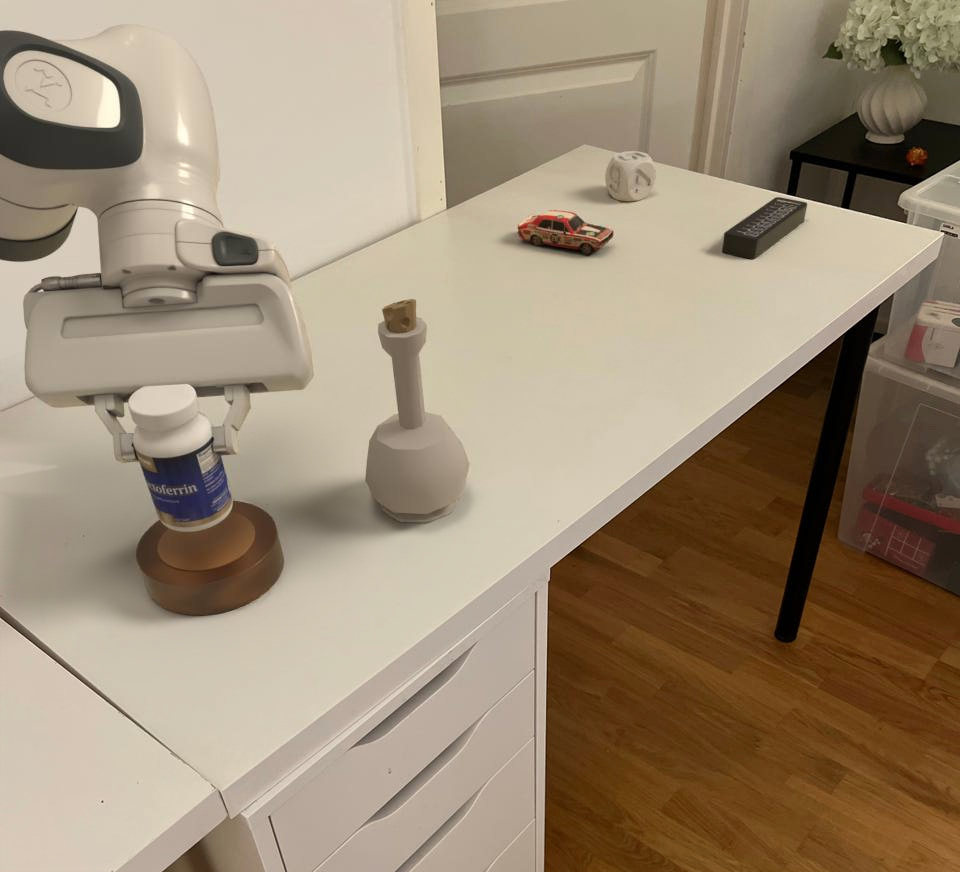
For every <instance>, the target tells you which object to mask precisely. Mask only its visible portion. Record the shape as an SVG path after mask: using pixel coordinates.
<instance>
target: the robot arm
mask: <svg viewBox="0 0 960 872" xmlns="http://www.w3.org/2000/svg"><path fill="white" fill-rule="evenodd" d="M220 181H221V163H220V150H219V141H218V135H217V127H216V119H215V113H214V108H213V103H212V98H211V93H210V90H209V87H208V84H207V81H206V78H205V76H204V73H203V72H202V69H201V67H200V65H199V63H198V62H197V60H196V59H195V58H194V56H193V55H192V53H191V52H190V51H189V50H188V49H187V48H186V47H185V46H184V45H183V44H182V43H181V42H179V41H178V40H176V39H175V38H173V37H172V36H170V35H168V34H166V33H164V32H162V31H161V30H157V29H154V28H151V27H148V26H145V25H139V24H132V23H131V24H130V23H129V24H128V23H127V24H117V25H112V26H110V27H108V28H106V29H104V30H103V31H101V32H99V33H98V34H96V35H92V36H90V37H89V36H88V37H84V38H78V39H49V38H46V37H43V36H40V35H36V34H34V33H31V32H26V31H21V30H11V29H9V30H8V29H7V30H6V29H5V30H0V261H6V262H14V263H16V262H17V263H25V262H32V261H33V262H34V261H37V260H41V259H44V258H46V257H48V256H50V255H52V254H54V253H55V252H56V251H58V250H59V249H60V248H61V247H62V246H63V245H64V244H65V242H67V239H68V238H69V236H70V234H71V231H72V228H73V225H74V222H75V219H76V216H77V213H78V209H79V208H84V209H87V210H89V211H90V212H92V213H93V214H94V216H95V217H96V220H97V235H98V236H97V237H98V250H99V265H100V272H94V273H82V274H77V275H76V274H75V275H71V276H60V275H59V276H58V275H54V276H46V277H44V278H42V279H41V281H40V283H38V284H35V285H34V286H33V287H31V288H30V289H29V290H28V291H27V293H26V294H24V297H23V300H22V301H23V302H22V308H23V321H24V326H25V329H26V337H25V346H24V347H25V348H24V349H25V350H24V382H25V385H26V388H27V389H28V390H29V391H30V393H31V394H33V396H35V397H36V398H37V399H38V400H40V401H41V402H43V403H44V404H46V405H47V406H49V407H52V408H55V409H62V408H74V407H77V408H78V407H87V406H88V407H89V406H94V412H95V413H96V415H97V416H98V418H99V419H100V421H101V422H102V424H103V425H104V426H105V428H106V429H107V431H108V432H109V434H110V435H111V436H112V442H113V444H112V445H113V455H114V458H115V460H116V461H118V462H119V463H120V464H126V463H140V462H139V459H138V457H137V454H136V451H135V448H134V444H133V433H134V432H126V430H125V428H124V426H122V423H121V422H120V421H119V419H118V418H124V417H125V404H128V401H129V398H130V397H131V395H132V394H133V393H134V392H136V391H137V390H139V389H140V388H142V387H145V386H161V385H177V384H189V385H191V386H192V387H193V388H194V390H195V392H196V395H197V398H209V397H211V398H212V397H224V401H225V402H226V403H227V404H228V405H229V406H230V407H229V410H228V412H227V414H226V416H225V418H224V421H223V423H222V425H220V426H213V427H211V431H212V437H213V438H214V440H213V442H212V446H213V451H214V453H216V454H217V455H221V456H234V455H239V452H240V451H239V437H238V436H239V435H238V432H239V431H240V430H241V428H242V426H243V424H244V422H245V420H246V418H247V416H248V414H249V412H250V410H251V409H252V408H251V407H252V405H251V404H252V403H251V395H252V394H266V393H277V392H290V391H303V390H305V389H306V388H307V387H308V386H309V384H310V383H311V381H312V379H314V375H315V374H314V373H315V371H314V361H313V360H314V359H313V355H312V348H311V343H310V337H309V334H308V329H307V326H306V322H305V318H304V316H303V314H302V311H301V308H300V306H299V303H298V302H297V300H296V298H295V297H294V295H293V293H292V290H291V289H292V287H291V286H292V285H291V277H290V272H289V269H288V266H287V264H286V261H285V258H284V257H283V256H282V254H281V252H280V251H279V249H278V248H277V247H276V245H275V244H274V243H273V242H272V241H271V240H270V239H269V238H266V237H263V236H259V235H256V234H251V233H246V232H242V231H237V230H234V229H229V228H226V227H225V225H224V220H223V217H222V214H221V212H220V209H219V205H218V199H217V197H218V188H219V184H220ZM41 290H42V291H41Z"/></svg>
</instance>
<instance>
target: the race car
mask: <svg viewBox="0 0 960 872" xmlns="http://www.w3.org/2000/svg"><path fill="white" fill-rule="evenodd" d="M517 235H518V237H519V238H521V240H523V241H527V242H531V243H532V244H533V245H535V246H536V247H542V246H543V245H548V246H554V247H559V248H565V249H570V250H576V251H577V250H581V252H582V254H583V255H585V256H587V257H588V256H591V255H592V254H593V253H594V252H595V251H597V250H599V249H601V248H602V247H604V246H605V245H606V244H608V243H609V242H610V240H612V239H613V237H614V229H613V228H609V227H607V226H604V225H600V224H595V223H591V222H590V223H589V222H587V221H584V219H582V218H581V217H580V216H579V215H578V214H577V213H575V212H572V211H566V210H556V209H553V210H552V209H551V210H545V211H544V212H543V213H541V214H538V215H533V214H529V215H528V216H527V217H525V218H524V219H523V220H521V221H520V222H519V223H518V224H517Z"/></svg>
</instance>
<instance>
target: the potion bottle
mask: <svg viewBox="0 0 960 872" xmlns="http://www.w3.org/2000/svg"><path fill="white" fill-rule="evenodd" d="M381 311H382V316H383V320H382V321H381V322H380V323H378V325H377V334H378V338H379V341H380V344H381V348H382V349H383V350H384V352H386V354H388V355H389V357H390V358H391V365H392V373H393V380H394V388H395V389H394V391H395V397H396V406H397V413H394V414H393V415H391V416H389V417H388V418H386V419H385V420H384V421H382V422H380V423H379V424H378V425H377V426H376V427H375V429H374V431H373V433H372V435H371V437H370V439H369V441H368V448H367V456H366V464H365V465H366V466H365V467H366V468H365V477H364V478H365V479H364V481H365V484H366V486H367V488H368V490H369V492H370V493H371V496H372V499H373V500H374V501H375V502H377V503H379V504H380V505H381V511H382V512H383V513H385V514H386V515H388V516H390V517H391V518H393V519H394V520H396V521H397V522H400V523H415V524H416V523H421V524H428V523H431V522H433V521H436V520H437V519H440V518H444V517H445V516H447V515H450V514H452V512H453V511H454V509H455V507H456V506H457V503H458V502H459V500H460V498H461V493H462V491H463V490H464V488H465V486H466V483H467V477H468V473H469V469H470V460H469V458H468V456H467V455H468V454H467V452H466V450H465V446H464V444H463V442H462V441H461V440H460V438H459V437H458V436H457V435H456V432H454V431H453V430H452V428H451V426H450V425H449V424H448V423H447V422H446V420H445V419H444V417H443V416H442V415H439V414H436V413H431V412H427V411H426V409H425V402H424V389H423V379H422V371H421V370H422V369H421V359H420V353H421V352H422V349H423V348H424V346H425V344H426V343H427V330H428V329H427V327H428V325H427V323H426V322H425V321H424V320H423V318H422V317H418V316H417V300H416V299H414V298H410V299H403V300H400V301H396V302H393V303H390V304H388V305H386V306H384V307H383V308H382V309H381Z"/></svg>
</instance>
